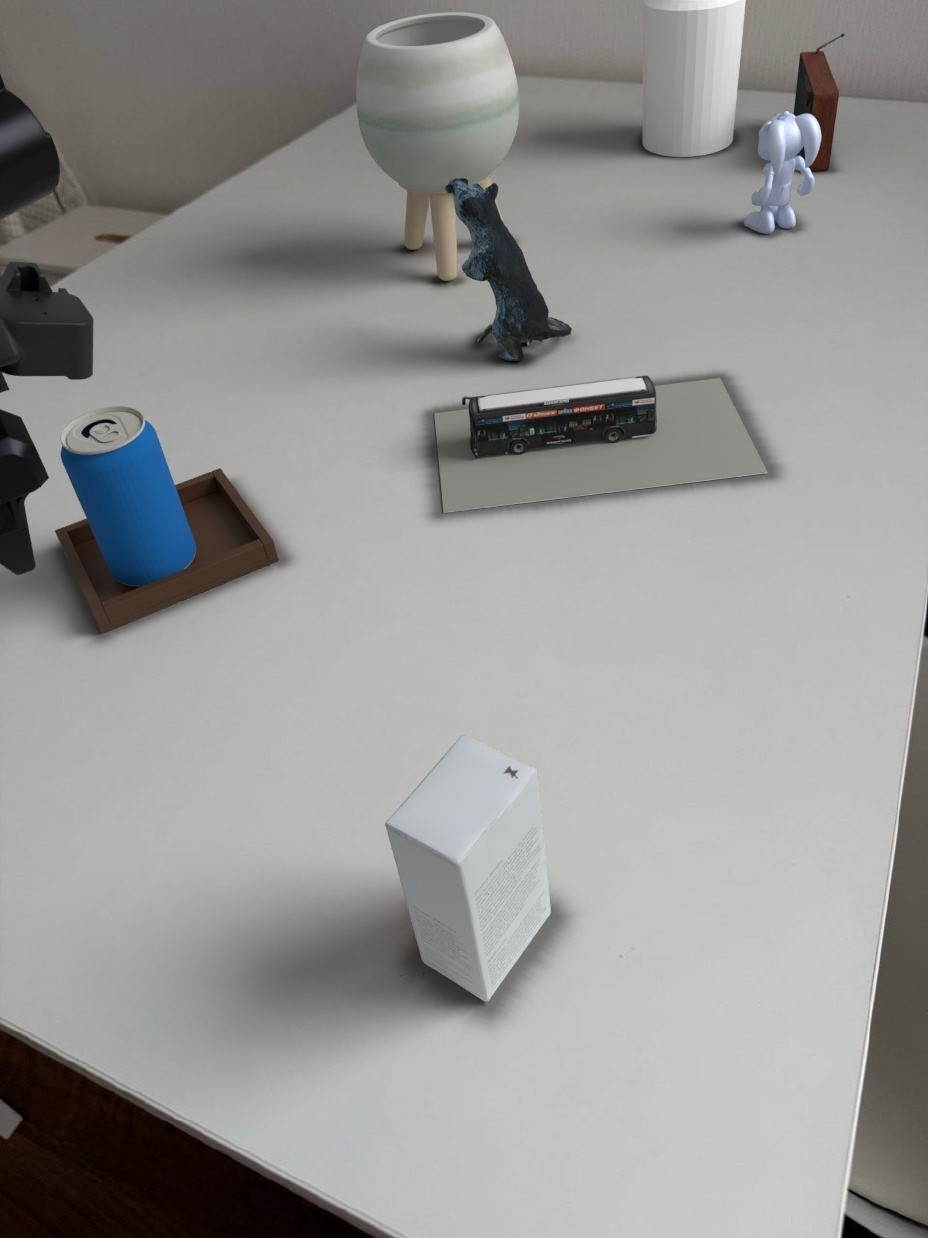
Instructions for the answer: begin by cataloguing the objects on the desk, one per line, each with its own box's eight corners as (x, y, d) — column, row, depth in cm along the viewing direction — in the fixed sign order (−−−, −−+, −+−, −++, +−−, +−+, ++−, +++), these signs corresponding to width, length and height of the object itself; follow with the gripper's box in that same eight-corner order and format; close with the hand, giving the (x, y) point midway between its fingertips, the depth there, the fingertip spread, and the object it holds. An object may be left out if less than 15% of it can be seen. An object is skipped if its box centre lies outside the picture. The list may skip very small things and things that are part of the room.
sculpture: (493, 313, 103) (480, 157, 93) (587, 335, 98) (584, 173, 88) (444, 351, 98) (424, 191, 88) (540, 376, 93) (531, 210, 83)
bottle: (631, 131, 137) (633, -95, 120) (719, 119, 137) (734, -109, 120) (652, 162, 128) (659, -77, 111) (747, 149, 128) (768, -92, 111)
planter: (446, 304, 105) (418, 63, 90) (352, 263, 115) (312, 39, 100) (558, 249, 112) (549, 17, 97) (461, 215, 122) (439, -1, 107)
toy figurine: (785, 209, 114) (798, 92, 106) (818, 229, 110) (834, 109, 102) (729, 222, 113) (738, 105, 105) (759, 244, 109) (771, 123, 100)
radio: (789, 124, 133) (803, -9, 123) (813, 122, 133) (830, -11, 123) (803, 178, 120) (820, 34, 110) (830, 177, 119) (850, 32, 109)
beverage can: (170, 527, 81) (120, 392, 73) (215, 561, 77) (168, 423, 69) (96, 569, 78) (36, 433, 70) (140, 606, 74) (82, 467, 66)
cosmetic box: (485, 876, 56) (464, 728, 47) (553, 914, 53) (542, 767, 45) (416, 964, 52) (380, 821, 44) (485, 1008, 50) (461, 867, 42)
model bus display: (434, 413, 90) (428, 370, 87) (719, 378, 90) (723, 333, 87) (443, 512, 80) (437, 467, 77) (767, 473, 79) (773, 425, 76)
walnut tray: (101, 634, 73) (92, 613, 72) (63, 550, 81) (54, 530, 80) (279, 560, 77) (273, 539, 76) (226, 487, 85) (220, 467, 84)
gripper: (94, 292, 46) (189, 560, 57) (11, 179, 59) (102, 416, 70) (-167, 373, 43) (-14, 641, 54) (-196, 235, 56) (-67, 475, 66)
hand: (10, 529), depth 61 cm, fingers open, 9 cm apart
